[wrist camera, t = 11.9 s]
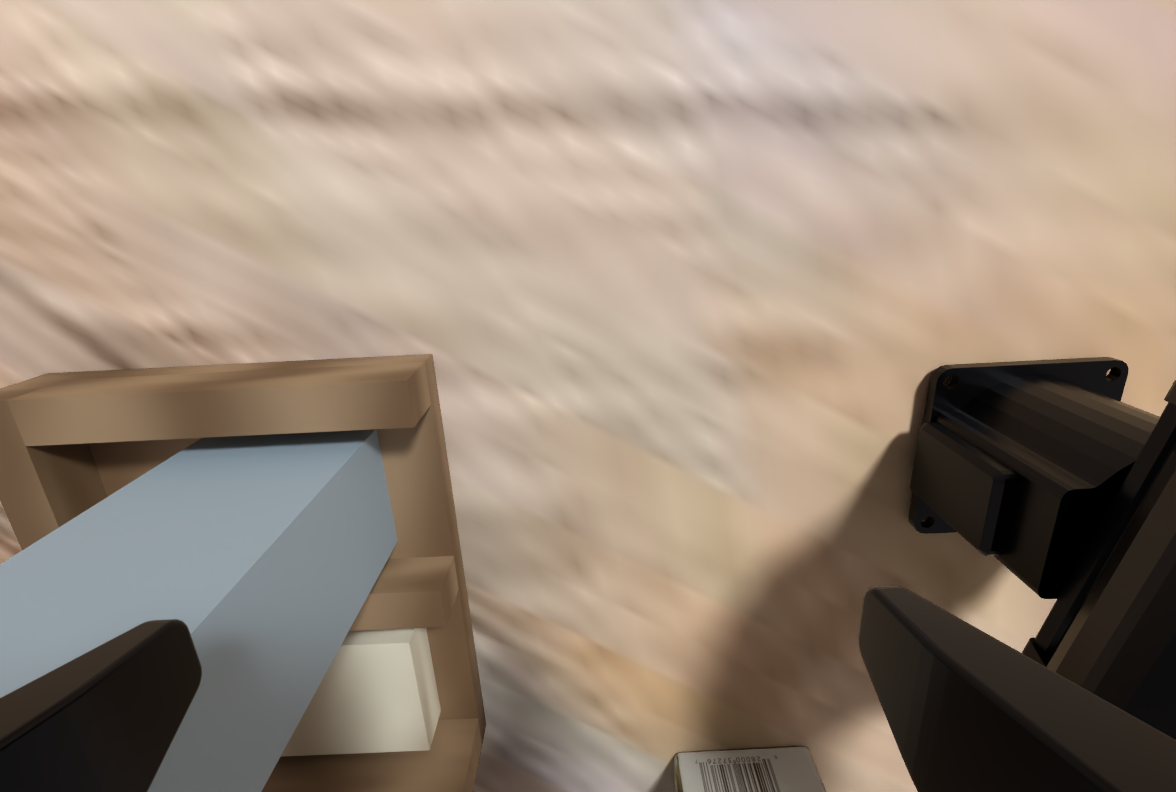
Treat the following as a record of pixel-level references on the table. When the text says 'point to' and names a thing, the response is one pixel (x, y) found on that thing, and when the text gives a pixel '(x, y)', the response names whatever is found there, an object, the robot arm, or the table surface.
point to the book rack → (396, 601)
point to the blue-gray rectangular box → (215, 586)
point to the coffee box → (747, 771)
